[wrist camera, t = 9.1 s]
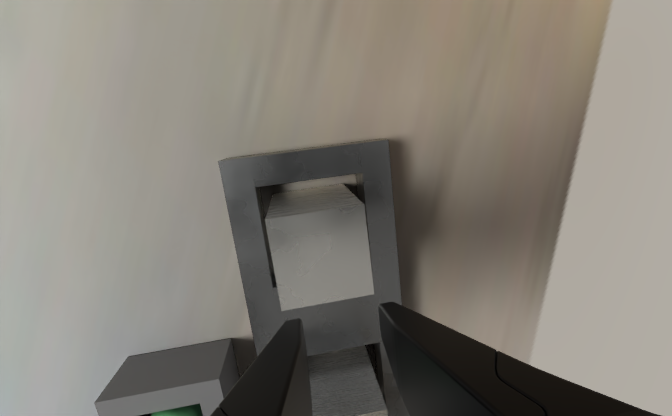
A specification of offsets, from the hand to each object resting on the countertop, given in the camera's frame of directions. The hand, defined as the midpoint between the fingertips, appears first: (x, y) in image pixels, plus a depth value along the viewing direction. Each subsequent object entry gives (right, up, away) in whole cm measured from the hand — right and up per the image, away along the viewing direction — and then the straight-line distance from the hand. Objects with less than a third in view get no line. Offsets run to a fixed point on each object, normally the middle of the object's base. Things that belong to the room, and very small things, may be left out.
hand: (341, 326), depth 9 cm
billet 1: (-2, +2, +11) cm, 11 cm away
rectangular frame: (-1, -3, +12) cm, 12 cm away
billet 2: (0, -7, +13) cm, 15 cm away
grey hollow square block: (-9, -8, +12) cm, 17 cm away
